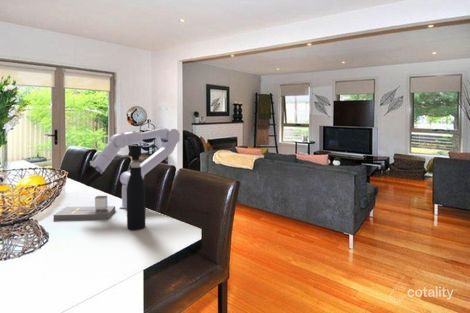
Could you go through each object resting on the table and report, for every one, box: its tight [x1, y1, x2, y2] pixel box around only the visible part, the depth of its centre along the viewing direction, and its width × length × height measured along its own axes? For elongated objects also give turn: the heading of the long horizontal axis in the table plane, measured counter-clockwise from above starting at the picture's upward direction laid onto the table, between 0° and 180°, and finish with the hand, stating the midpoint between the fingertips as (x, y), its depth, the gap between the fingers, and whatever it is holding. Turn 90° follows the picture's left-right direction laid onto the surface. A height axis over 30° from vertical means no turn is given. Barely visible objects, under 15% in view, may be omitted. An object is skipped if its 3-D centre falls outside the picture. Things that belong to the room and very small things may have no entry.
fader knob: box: [94, 195, 109, 210], centre depth 126 cm, size 4×3×5 cm
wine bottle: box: [126, 145, 146, 231], centre depth 110 cm, size 6×6×30 cm
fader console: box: [53, 205, 116, 221], centre depth 125 cm, size 20×12×2 cm, turn 98°
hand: (84, 183), depth 127 cm, fingers open, 7 cm apart
